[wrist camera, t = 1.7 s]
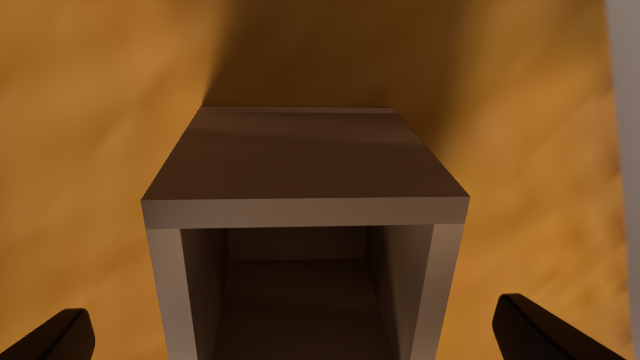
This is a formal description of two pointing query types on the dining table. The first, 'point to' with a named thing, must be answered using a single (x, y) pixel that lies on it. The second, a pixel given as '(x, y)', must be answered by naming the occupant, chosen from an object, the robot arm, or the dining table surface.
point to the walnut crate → (303, 236)
